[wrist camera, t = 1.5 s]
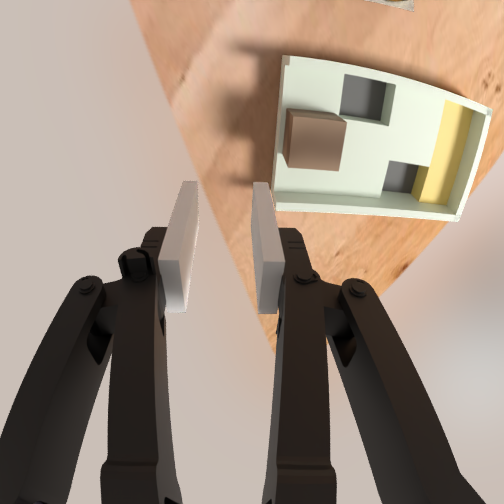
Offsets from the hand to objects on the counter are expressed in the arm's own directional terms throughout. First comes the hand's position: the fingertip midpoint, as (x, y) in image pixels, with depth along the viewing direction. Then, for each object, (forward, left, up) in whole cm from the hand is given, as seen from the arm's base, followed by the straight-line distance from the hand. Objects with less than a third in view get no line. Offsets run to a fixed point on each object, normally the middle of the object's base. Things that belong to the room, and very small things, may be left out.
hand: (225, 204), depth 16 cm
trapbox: (0, +18, -19) cm, 25 cm away
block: (0, +8, -16) cm, 18 cm away
